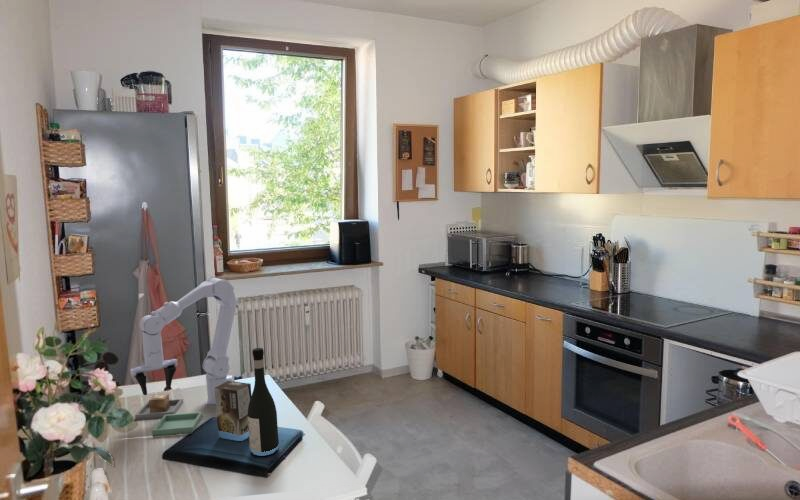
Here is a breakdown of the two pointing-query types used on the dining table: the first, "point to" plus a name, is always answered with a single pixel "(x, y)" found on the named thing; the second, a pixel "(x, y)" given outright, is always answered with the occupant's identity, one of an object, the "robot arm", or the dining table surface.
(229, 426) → the coffee box
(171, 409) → the charcoal tray
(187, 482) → the dining table surface
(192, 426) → the green tray
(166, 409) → the brown cardboard box
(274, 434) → the wine bottle
